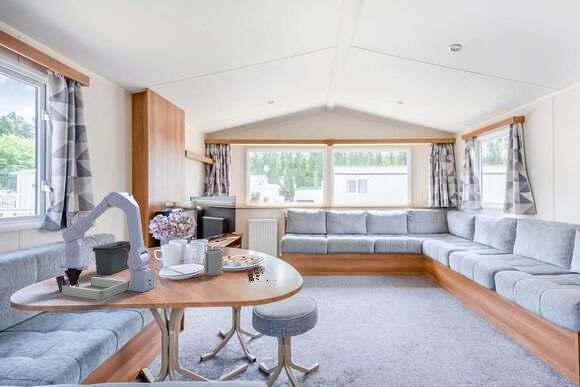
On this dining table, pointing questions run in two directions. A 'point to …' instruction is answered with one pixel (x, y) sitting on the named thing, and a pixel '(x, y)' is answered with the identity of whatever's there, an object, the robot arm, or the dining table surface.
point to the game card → (63, 282)
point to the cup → (213, 261)
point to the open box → (113, 289)
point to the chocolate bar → (250, 274)
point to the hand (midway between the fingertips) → (73, 285)
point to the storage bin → (111, 257)
